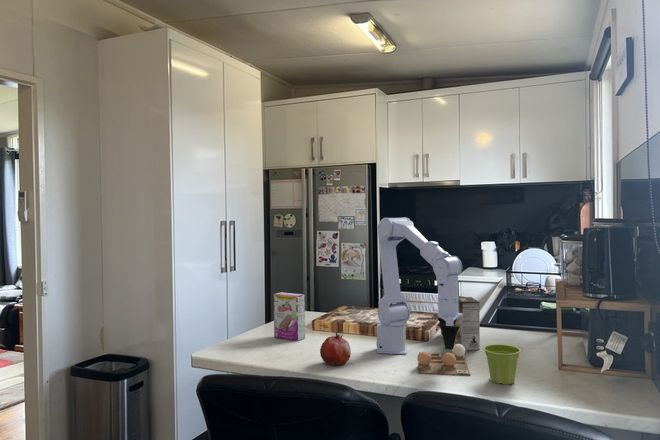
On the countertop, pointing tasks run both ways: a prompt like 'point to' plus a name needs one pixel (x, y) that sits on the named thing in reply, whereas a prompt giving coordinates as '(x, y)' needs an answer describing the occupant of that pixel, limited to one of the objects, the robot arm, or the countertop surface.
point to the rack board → (439, 368)
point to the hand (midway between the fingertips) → (448, 345)
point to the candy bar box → (289, 316)
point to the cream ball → (458, 350)
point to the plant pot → (502, 362)
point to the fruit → (335, 350)
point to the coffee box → (468, 323)
